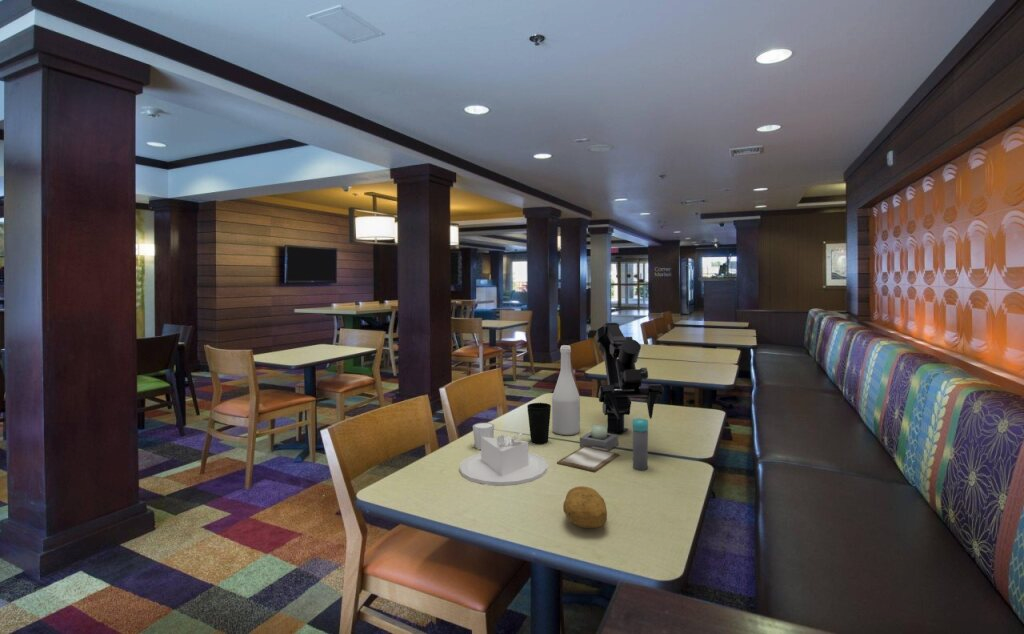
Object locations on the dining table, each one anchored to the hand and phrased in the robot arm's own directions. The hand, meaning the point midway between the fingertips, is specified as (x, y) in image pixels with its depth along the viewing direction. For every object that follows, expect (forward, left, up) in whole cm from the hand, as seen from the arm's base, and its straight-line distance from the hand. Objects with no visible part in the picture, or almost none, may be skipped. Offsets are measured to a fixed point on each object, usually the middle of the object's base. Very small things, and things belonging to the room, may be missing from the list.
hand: (635, 418), depth 149 cm
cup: (+1, -32, -13) cm, 35 cm away
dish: (+26, -28, -13) cm, 41 cm away
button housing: (-6, -14, -12) cm, 20 cm away
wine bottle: (-13, -30, -13) cm, 35 cm away
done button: (-6, -14, -10) cm, 19 cm away
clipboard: (+7, -11, -12) cm, 18 cm away
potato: (+42, +6, -13) cm, 44 cm away
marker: (+5, +4, -12) cm, 14 cm away
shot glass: (+15, -44, -13) cm, 49 cm away
